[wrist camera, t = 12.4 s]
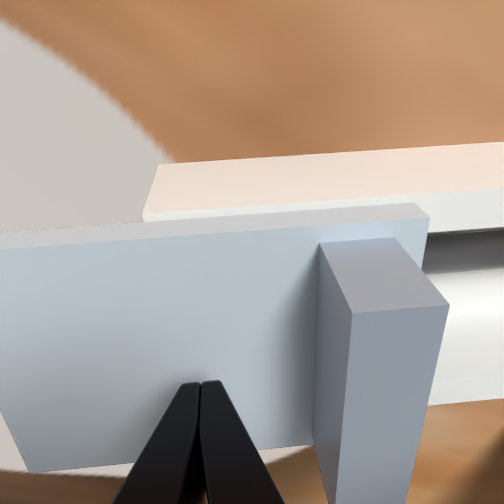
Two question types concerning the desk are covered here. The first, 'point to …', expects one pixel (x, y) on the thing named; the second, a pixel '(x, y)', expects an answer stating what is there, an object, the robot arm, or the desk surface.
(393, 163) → the white channel beam
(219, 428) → the robot arm
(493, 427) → the desk surface
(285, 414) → the cover
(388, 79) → the desk surface
